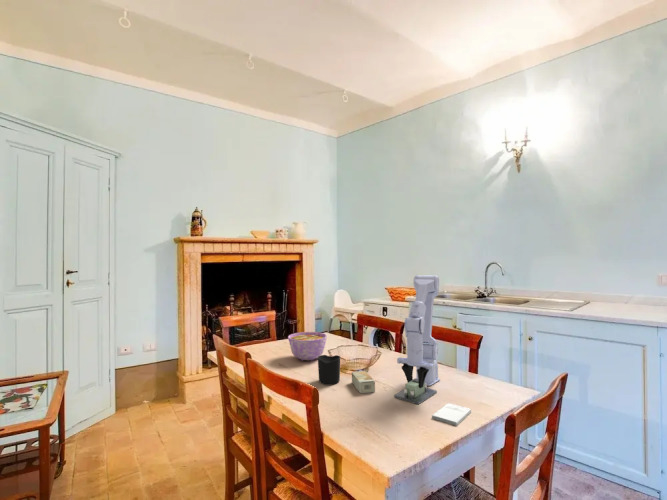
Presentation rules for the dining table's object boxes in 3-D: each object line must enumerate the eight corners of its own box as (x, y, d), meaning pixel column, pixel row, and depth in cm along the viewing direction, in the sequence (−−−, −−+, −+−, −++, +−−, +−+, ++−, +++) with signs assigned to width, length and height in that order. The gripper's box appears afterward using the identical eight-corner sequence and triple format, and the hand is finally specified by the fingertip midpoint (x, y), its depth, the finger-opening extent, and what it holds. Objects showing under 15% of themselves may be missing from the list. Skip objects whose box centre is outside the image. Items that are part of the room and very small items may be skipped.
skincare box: (359, 382, 137) (350, 372, 149) (359, 393, 137) (351, 382, 149) (375, 380, 138) (365, 370, 150) (375, 391, 138) (365, 381, 150)
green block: (415, 389, 138) (414, 377, 138) (424, 391, 135) (424, 379, 135) (405, 394, 133) (405, 382, 133) (415, 397, 130) (414, 384, 130)
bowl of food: (281, 362, 177) (281, 339, 178) (297, 352, 197) (297, 331, 197) (319, 365, 172) (319, 341, 172) (332, 354, 191) (331, 332, 191)
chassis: (413, 386, 143) (413, 378, 143) (436, 392, 136) (436, 384, 136) (394, 397, 133) (394, 388, 133) (418, 404, 126) (418, 395, 126)
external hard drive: (431, 420, 115) (447, 407, 125) (456, 427, 110) (471, 413, 120) (431, 415, 115) (447, 402, 125) (456, 422, 110) (471, 408, 120)
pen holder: (327, 387, 144) (327, 362, 144) (313, 381, 151) (313, 357, 151) (345, 381, 150) (344, 357, 150) (331, 375, 157) (330, 353, 157)
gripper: (392, 348, 137) (393, 384, 136) (427, 355, 127) (428, 393, 127) (402, 344, 142) (403, 379, 142) (436, 350, 132) (437, 388, 132)
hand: (415, 385), depth 134 cm, fingers closed on green block, 4 cm apart
